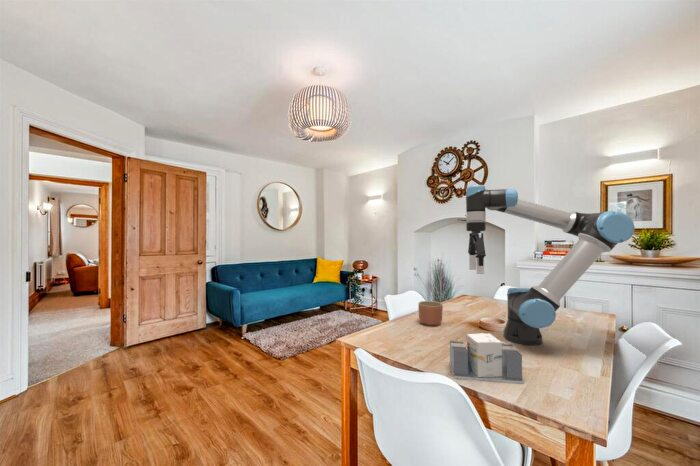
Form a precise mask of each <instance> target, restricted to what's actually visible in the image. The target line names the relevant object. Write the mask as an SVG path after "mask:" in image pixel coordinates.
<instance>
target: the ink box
mask: <svg viewBox="0 0 700 466" xmlns="http://www.w3.org/2000/svg"><path fill="white" fill-rule="evenodd" d="M502 342H503V341H501V340H499V339H498V338H496V337H495V336H494V335H493V334H491V333H481V332H480V333H467V334H466V349H467V351H468V367H469V368H470V369H471V370H472V371H473V372H474V373H475V374H476V375H477V376H478V377H499V376H502Z"/></svg>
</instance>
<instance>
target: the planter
mask: <svg viewBox="0 0 700 466" xmlns="http://www.w3.org/2000/svg"><path fill="white" fill-rule="evenodd" d="M417 308H418V318H419V321H420V323H422V324H423V325H425V326H428V327H429V326H430V327H435V326H439V325H440V324H441V323H442V321H443V308H444V306H443V303H442V302H439V301H437V300H436V301H435V300H423V301H422V300H421V301H419V302H418V307H417Z"/></svg>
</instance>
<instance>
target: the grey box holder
mask: <svg viewBox="0 0 700 466" xmlns="http://www.w3.org/2000/svg"><path fill="white" fill-rule="evenodd" d="M449 366H450V369H451V373H452V375H453V378H454V379H459V380H469V381H470V380H471V381H480V382H495V383H508V384H519V385H523V384H524V380H523V355H522V354H521V353H520V351H519V349H518V348H517V347H516V346H514V345H513V344H508V343H506V344H502V376H499V377H478V376H477V375H476V374H475V373H474V372H473V371H472V370H471V369H470V368H469V367H468V351H467V345H466V344H465V343H464V342H463V341H457V340H456V341H453V340H449Z"/></svg>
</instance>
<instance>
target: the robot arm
mask: <svg viewBox="0 0 700 466" xmlns="http://www.w3.org/2000/svg"><path fill="white" fill-rule="evenodd" d="M465 192H466V193H465V195H466V196H465V200H466V201H465V205H466V209H465V210H466V211H465V213H466V214H465V215H464V216H465V217H466V224H465V225H466V227H465V228H466V231H467V232H470V233H469V241H468V250H467V253H468V257H469V258H468V259H469V260H468V261H469V265H468V266H469V269H468V270H470V271H474V270H476V274H477V275H485V258H486V256H487V254H486V248H485V239H484V233H483V232H486V229H487V228H486V227H487V226H486V219H487V218H486V216H487V215H486V209H487V210H489V211H496V212H500V213H505V214H508V215H511V216H515V217H517V218H518V217H519V218H521V219H525V220H529V221H533V222H535V223H539V224H542V225H546V226H549V227H554V228H557V229H560V230H562V231H563V233H566V234H569V235H572V236H575V237H577V238H578V240H577V242H576V243H574V245H573V246H572V247H571V248H570V249H569V251H567V253H566V254H565V255H564V256H563V258H561V260H560V261H558V263H557V264H556V265H555V267H553V269H552V270H551V271H550V272H549V273H548V275H547V276H546V277H544V279H542V281H541V282H540V284H539V285H536V286H531V287H529V288H528V287H509V288H508V289H507V293H506V296H507V300H506V301H507V321H506V324H505V326H504V330H503V338H504V339H506V340H507V341H510V342H512V343H515V344H521V345H527V346H536V345H541V344H543V335H542V333H541V332H542V331H541V330H540V329H544V328H548V327H550V326H551V325H552V324H553V323H554V322H555V320H556V317H557V311H558V309H559V308H560V307H561V303H560V301H561V299H562V298H563V297H564V296H565V294H567V292H568V291H570V290H571V288H572V287H573V286H574V285H575V284H576V283H577V282H578V280H579V279H580V278H581V277H582V276H584V274H585V273H586V271H587V270H588V269H590V267H591V266H593V264H594V263H595V261H596V260H598V258H599V257H600V256H601V255H602V254H604V253H610V252H611V251H612V250H613V249H614V248H615V247H616V245H618V244H621V243H624V242H626V241H628V240H630V239H631V238H632V237H633V235H634V233H635V223H634V221H633V219H632V218H631V217H630V216H629V215H628V214H626V213H624V212H621V211H616V210H615V211H614V210H607V211H602V212H595V213H594V212H593V213H587V212H586V213H582V212H578V211H574V210H573V211H570V212H568V211H565V210H564V211H563V210H560V209H558V208H553V207H550V206H546V205H545V206H544V205H542V204H538V203H534V202H531V201H527V200H523V199H519V195H518V193H519V192H518V191H517V190H516V189H515V188H502V189H501V188H500V189H486V186H485V185H484V184H474V185H473V184H472V185H469V186H467V187H466V190H465ZM481 232H482V233H481Z"/></svg>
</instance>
